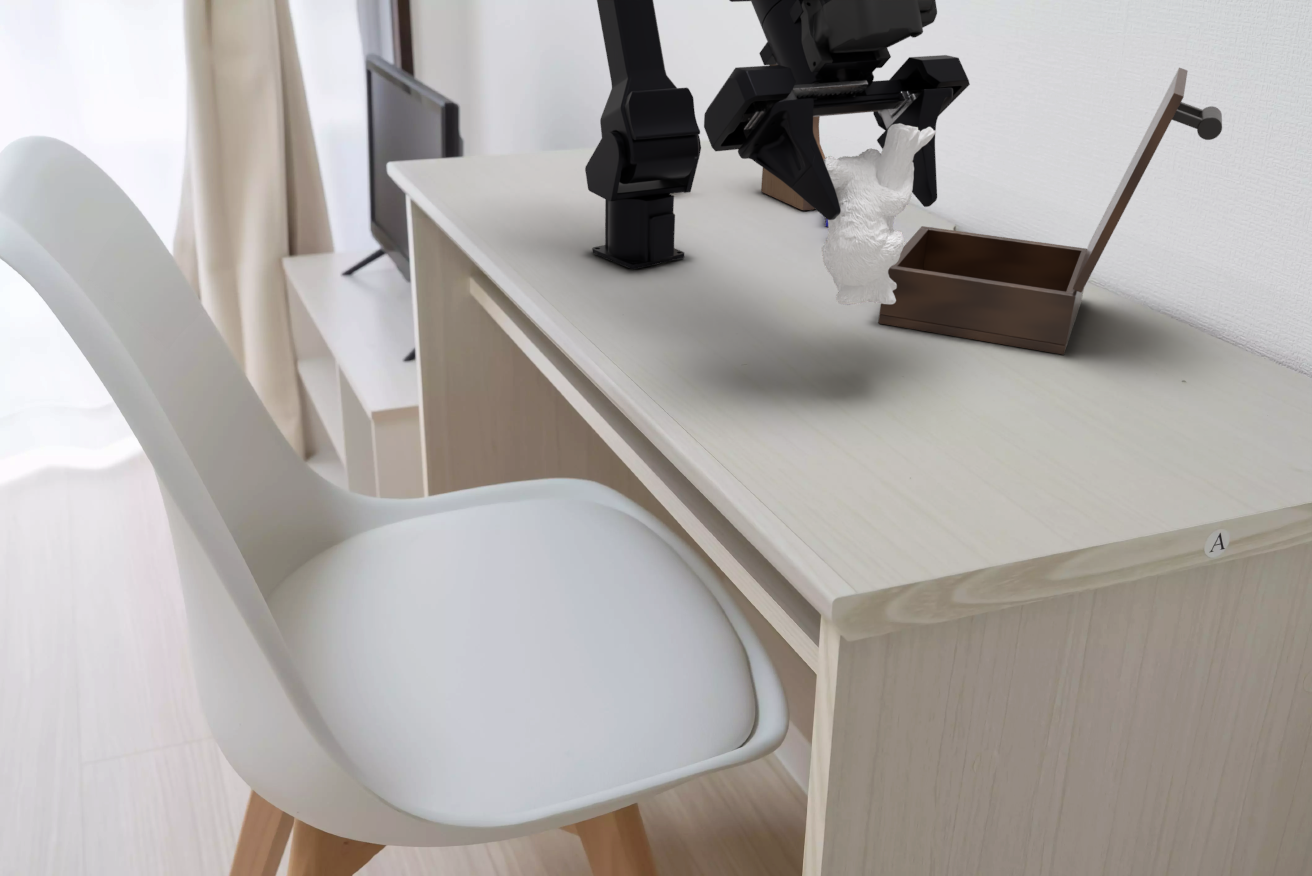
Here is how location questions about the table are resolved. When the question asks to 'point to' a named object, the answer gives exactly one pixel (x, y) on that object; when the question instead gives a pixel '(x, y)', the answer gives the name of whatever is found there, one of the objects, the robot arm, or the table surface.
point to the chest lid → (1169, 109)
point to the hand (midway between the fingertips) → (884, 210)
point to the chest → (986, 289)
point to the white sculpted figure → (871, 215)
